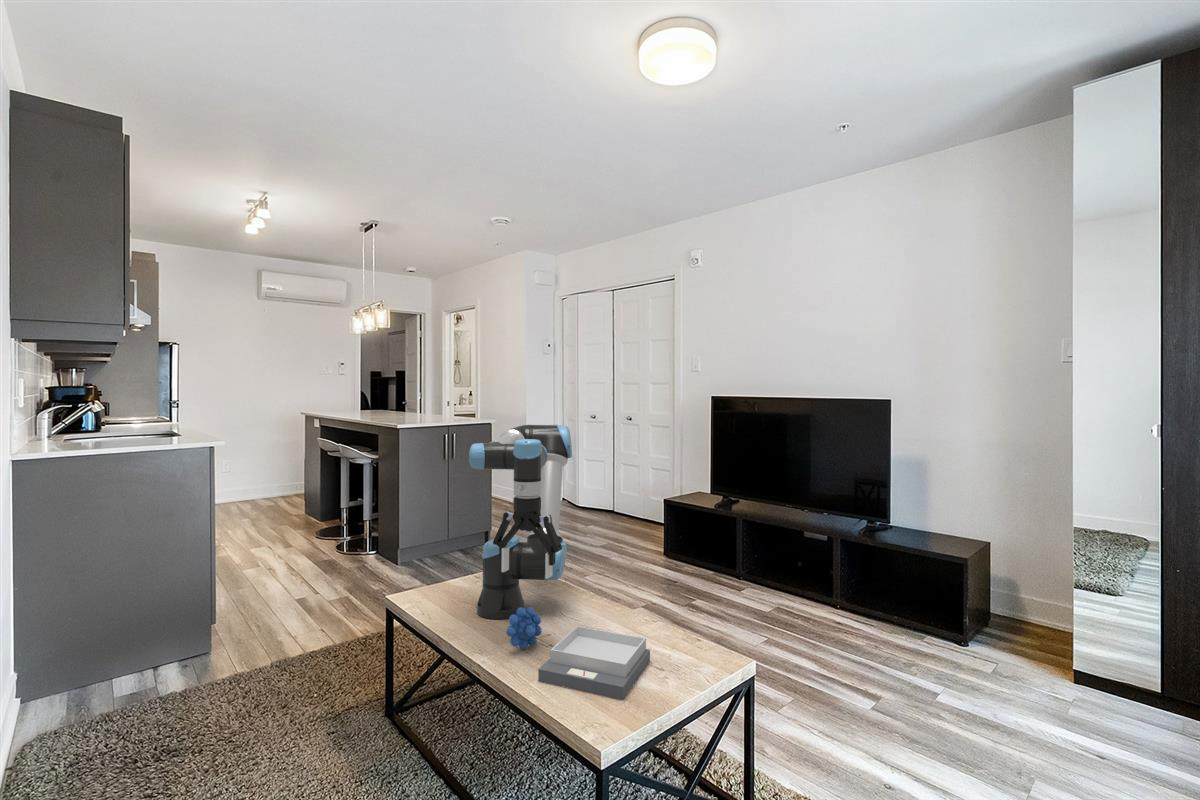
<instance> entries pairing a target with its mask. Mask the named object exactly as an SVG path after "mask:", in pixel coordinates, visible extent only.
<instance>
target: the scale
mask: <svg viewBox="0 0 1200 800" xmlns="http://www.w3.org/2000/svg"><path fill="white" fill-rule="evenodd" d="M650 662H651V650H650V649H648V648H647V638H646V637H642V636H636V635H630V634H624V633H618V632H613V631H608V630H601V629H595V628H590V627H584V626H579V625H577V626H576V627H573V629H572V630H571V631H569V632H568V633H567V634H566V635H565V636H564V637H563V638H562V639H561V640H560V641H558V642H557V643H556V644H555V645H554V646H553V647H551V649H550V658H549V659H548V660H547V661H545V662H544V663H543V664H542V665H541V666H540V667H539V668H538V669H537V672H538V673H537V674H538V675H537V677H538V682H540V683H544V682H545V684H548V683H549V685H553V684H554V685H553V686H557V685H559V686H558V687H562V686H564V688H566V687H568V689H572V690H575V689H576V691H579V692H580V691H581V692H586V693H589V694H593V695H598V696H602V697H607V698H612V699H617V700H621V701H623V700H625V698H626V697H627V694H629V692H630V690H631V689H632V688H633V686H634V685H635V683H636V682H637V681H638V679H639V677H641V674H642V673H643V672H644V670H645V669H646V668H647V666H648V664H649V663H650Z"/></svg>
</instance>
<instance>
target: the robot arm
mask: <svg viewBox="0 0 1200 800" xmlns="http://www.w3.org/2000/svg"><path fill="white" fill-rule="evenodd" d="M571 437H572V436H571V431H570V428H569V426H567V425H565V424H564V425H561V424H523V425H519V426H515V427H511V428H509V429H506V430H505V431H503V432H502V433H501V434H500V436H499V437H498V438H496V439H494V440H491V441H490V442H488V443H485V442H484V443H483V442H479V443H477V442H476V443H473V444H471V446H470V448H469V452H468V462H469V466H470V468H471V469H475V470H480V471H481V470H482V471H483V470H509V471H510V470H513V495H514V497H513V499H512V501H513V506H512V507H513V508H512V509H513V512H512V511H511V510H510V511H506V512H504V513H503V515H502V521H501V523H500V526H499V528H498V529H497V532H496V534H495V537H494V538H492V539H490V540H488V541H487V542H485V543H484V545H483V547H482V556H481V558H482V589H481V592H480V595H479V597H478V601H477V603H476V613H477V615H478V616H480V617H481V618H484V619H489V620H504V619H506V620H507V619H509V617H510V616H511V615H513V614H516V611H517V609H518V608H520V607H523V608H525V600H524V599H523V594H522V590H521V588H520V580H525V581H526V580H527V581H528V580H532V581H533V580H535V581H537V580H538V581H546V582H547V581H556V580H560V579H561V577H562V575H563V573H564V569H565V565H566V561H567V560H566V559H567V551H568V545H567V543H565V542H564V538H563V536H562V535H561V534H560V533H559V531H560V518H561V517H560V516H561V515H560V514H561V500H562V499H561V498H562V482H563V470H564V469H563V468H564V466H566V465H567V464H568V459H572V457H573V446H572V438H571ZM512 520H513V522H514V523H513V524H512V526H511V528H510V530H509V531H508V532H507V530H508V528H509V525H510V523H511V521H512ZM518 531H522V532H524V531H526V532H530V533H529V534H528V535H527V539H526V541H521V539H520V538H519V536H517V535H516V534H517V532H518ZM506 532H507V533H506ZM515 535H516V536H515ZM516 615H517V614H516Z"/></svg>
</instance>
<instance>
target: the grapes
mask: <svg viewBox="0 0 1200 800" xmlns="http://www.w3.org/2000/svg"><path fill="white" fill-rule="evenodd" d="M516 614H517V615H516ZM516 614H513V615H511V616H510V617H509V618H508V623H509V626H507V628H506V635H507V636H508V637H509V638H510V640H509V641H510V644H511V646H513V647H518V648H519V649H520V650H521V651H525V650H527V649H528V648H529V646H531V647H533V646H534V645H536V644H537V641H538V640H537V637H538V636H540V635H541V634H542V632H543V631H542V630H543V629H542V627H541V625H540V624H541V622H542V618H541V616H540V615H539V614H536V610H535V609H534V608H533V607H527V608H525V607H524V608H523V607H520V608H518V609H517V611H516Z"/></svg>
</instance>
